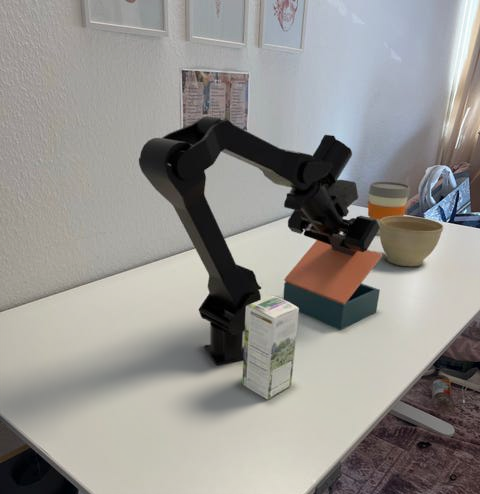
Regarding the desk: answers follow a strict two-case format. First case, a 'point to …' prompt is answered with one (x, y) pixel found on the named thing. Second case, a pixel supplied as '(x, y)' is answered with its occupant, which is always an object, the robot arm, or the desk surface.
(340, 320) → the box
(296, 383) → the desk surface
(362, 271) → the lid
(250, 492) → the desk surface
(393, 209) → the reusable coffee cup
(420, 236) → the planter bowl
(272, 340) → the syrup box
